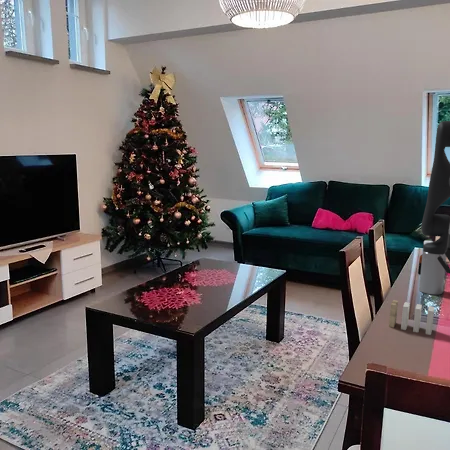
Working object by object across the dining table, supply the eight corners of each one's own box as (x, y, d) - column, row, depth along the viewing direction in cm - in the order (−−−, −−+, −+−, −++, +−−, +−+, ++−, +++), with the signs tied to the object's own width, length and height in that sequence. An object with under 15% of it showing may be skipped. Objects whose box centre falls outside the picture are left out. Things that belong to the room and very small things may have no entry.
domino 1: (391, 321, 157) (393, 300, 156) (396, 322, 156) (398, 300, 155) (388, 326, 153) (390, 304, 151) (393, 327, 152) (395, 305, 151)
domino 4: (426, 328, 152) (429, 306, 151) (431, 329, 151) (434, 306, 150) (425, 333, 148) (428, 310, 146) (430, 335, 147) (433, 311, 146)
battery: (417, 274, 219) (419, 254, 218) (420, 271, 225) (422, 251, 223) (427, 275, 217) (429, 255, 215) (429, 272, 223) (432, 252, 221)
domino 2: (402, 324, 155) (404, 301, 154) (407, 325, 155) (409, 302, 153) (400, 329, 151) (403, 306, 150) (405, 330, 150) (408, 307, 149)
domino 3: (414, 326, 154) (416, 304, 152) (419, 327, 153) (422, 304, 152) (413, 331, 149) (415, 308, 148) (418, 332, 149) (420, 309, 147)
